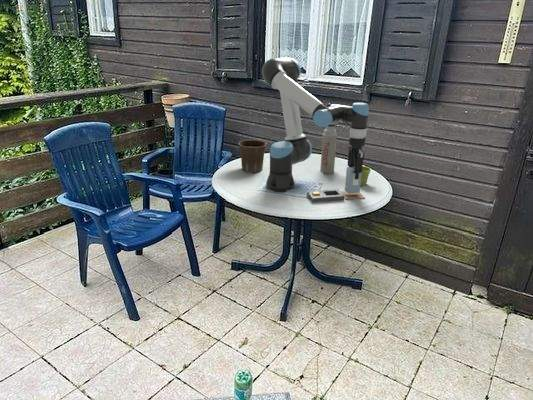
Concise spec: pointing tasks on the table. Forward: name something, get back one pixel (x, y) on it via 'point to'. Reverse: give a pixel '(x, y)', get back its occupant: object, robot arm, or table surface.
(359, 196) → the walnut board
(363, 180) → the plant pot
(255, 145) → the plant pot
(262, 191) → the table surface
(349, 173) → the light blue tall block
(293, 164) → the robot arm
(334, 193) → the dark grey holder
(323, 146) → the thermos bottle
